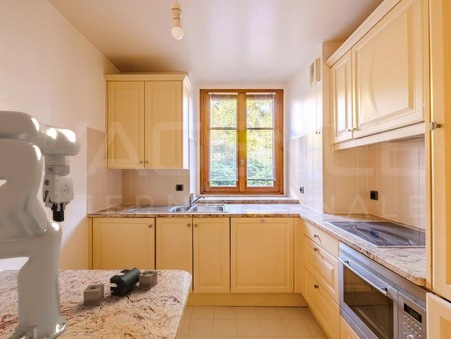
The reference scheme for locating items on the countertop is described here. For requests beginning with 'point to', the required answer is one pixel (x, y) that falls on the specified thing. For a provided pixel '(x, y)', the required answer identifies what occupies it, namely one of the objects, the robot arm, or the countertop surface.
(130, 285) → the black arched block
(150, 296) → the countertop surface
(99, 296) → the marked block
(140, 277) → the marked block
